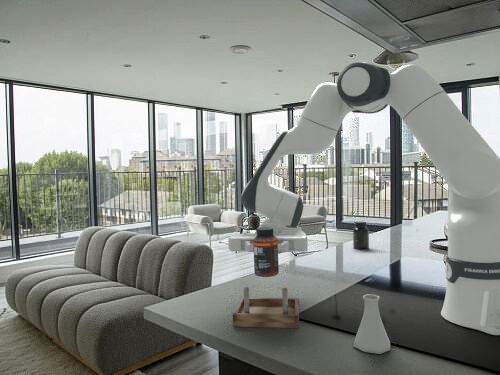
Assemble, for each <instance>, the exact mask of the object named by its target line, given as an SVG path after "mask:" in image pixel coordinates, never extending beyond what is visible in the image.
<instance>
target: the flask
mask: <svg viewBox="0 0 500 375" xmlns="http://www.w3.org/2000/svg"><path fill="white" fill-rule="evenodd" d="M362 300H363V302H364V304H363V305H364V307H363V308H364V309H363V314H362V315H363V316H362V317H361V322H360V324H359V327H358V330H357V332H356V335H355V338H354V342H353V346H352V347H353V348H356V349H358V350H359V351H362V352H364V353H369V354H379V355H381V354H384V353H386V352H389V351H391V341H390V339H389V337H388V333H387V331H386V329H385V326H384V323H383V320H382V318H381V315H380V309H379V301H380V295H377V294H371V293H370V294H369V293H367V294H363V296H362Z"/></svg>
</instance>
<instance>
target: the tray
mask: <svg viewBox="0 0 500 375" xmlns="http://www.w3.org/2000/svg"><path fill="white" fill-rule="evenodd" d="M281 290H282V292H281V293H282V294H281V295H282V296H281V297H250V288H249V287H243V296H242V297H240V299H239V301H238V304H237V306H236V307H235V309H234V311H233V312H232V327H241V328H242V327H245V328H247V327H248V328H250V327H251V328H280V329H281V328H282V329H283V328H284V329H285V328H286V329H287V328H288V329H290V328H291V329H300V328H299V327H300V299H299V298H296V297H295V298H294V297H291V298H290V297H288V296H289V294H288V288H286V287H283V288H281Z"/></svg>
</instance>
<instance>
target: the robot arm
mask: <svg viewBox="0 0 500 375" xmlns="http://www.w3.org/2000/svg"><path fill="white" fill-rule="evenodd" d="M336 83H337V84H336ZM336 83H334V82H323V83H321V84H319V85H318V86H317V87H316V88H315V89H314V90H313V91H312V93H311V95H310V97H309V99H308V100H307V102H306V104H305V105H304V108H303V111H302V113H301V114H300V117H299V119H298V121H297V122H296V124H295V125H294V126H293V127H292V128H290V129H287V130H283V131H282V132H281V133H280V134H279V136H278V137H276V139H275V140H274V142H273V144H272V146H271V148H270V149H269V151H268V152H267V153H266V155H265V157H264V158H263V159H262V162H261V163H260V165H259V166H258V169H257V170H256V171H255V173H254V175H253V176H252V178H251V179H250V180H249V181H248V182H247V184H246V185H245V186H244V188H243V189H242V193H241V195H240V196H241V198H240V201H241V203H242V206H243V207H244V209H245V210H246V211H249V212H251V213H254V214H258V215H260V216H262V217H265V218H266V219H265V220H264V221H263V222H261V224H259V226H258V227H257V228H260V227H272V228H273V235H274V236H275V237H276V238H277V240H278V255H280V254H283V253H293V252H295V253H296V252H298V253H299V252H301V253H302V252H303V253H305V252H307V251H309V249H308V247H309V246H308V245H309V244H308V236H307V234H306V232H305V231H303V230H302V227H300V226H298V225H299V223H300V220H301V218H302V215H303V211H304V202H303V199H302V197H301V196H300V195H299V194H297V193H294V192H292V191H290V190H288V189H284V188H282V187H280V186H277V185H276V184H272V183H271V182H269V181H268V179H269V178H270V175H271V174H272V172H273V171H274V169H275V168H276V166H277V165H278V163H279V162H280V160H281V159H282V158H283V157H286V156H287V155H315V154H320V153H322V152H325V151H326V150H328V149H329V148H330V147H331V145H332V144H333V142H334V141H335V138H336V136H337V135H338V132H339V130H340V128H341V124H342V123H343V121H344V119H345V117H346V116H347V115H348V114H349V113H351V112H352V113H353V114H354V113H356V114H368V115H369V114H376V113H379V112H382V111H383V110H384V109H387V107H388V106H390V107H392V108H393V109H394V110H395V111H396V113H397V114H398V116H399V117H400V118H401V119H402V121H403V122H404V124H405V125H406V127H407V128H408V130H410V132H411V134H412V135H413V136H414V138H415V140H417V142H418V143H419V144H420V146H421V148H422V149H423V151H424V152H425V153H426V155H427V157H428V158H429V160H431V162H432V163H433V166H434V167H435V168H436V170H437V171H438V172H439V174H440V175H441V177H442V179H443V180H444V181H445V183H446V184H447V185H448V187H447V188H448V190H447V191H448V194H447V195H448V197H447V199H448V200H447V255H446V256H445V268H444V270H445V278H446V281H447V282H446V289H445V296H444V301H443V306H442V308H441V311H440V314H441V317H443V318H444V319H445V320H447V321H448V322H451V323H453V324H456V325H458V326H461V327H464V328H465V327H466V328H469V329H473V330H478V331H480V332H484V333H486V334H488V335H493V336H500V157H499V156H498V155H497V154H496V152H495V151H494V150H493V149H492V147H491V146H490V145H489V144H488V143H487V141H486V140H485V139H484V138H483V137H482V135H481V134H480V133H479V131H477V129H476V128H475V127H474V126H473V125H472V124H471V122H470V121H469V120H468V119H467V118H466V116H465V115H464V114H463V113H462V111H461V110H460V109H459V107H458V106H457V105H456V103H455V102H454V101H453V100H452V98H450V96H449V95H448V93H447V92H446V91H445V89H444V88H443V87H442V86H441V84H440V83H438V81H437V80H435V78H434V77H433V76H432V75H431V74H429V73H428V72H427V71H426V70H425V69H423V68H422V67H421V66H419V65H417V64H413V63H412V64H406V65H403V66H401V67H400V68H398V69H396V70H395V71H393V72H392V73H391V72H389V70H388V69H387V68H385V67H381V66H378V65H376V64H373V63H370V62H365V61H355V62H353V63H350V64H348V65H347V66H345V67H344V68H343V69H342V70H341V72H340V73H339V75H338V78H337V81H336ZM256 236H257V229H256V230H255V232H254V233H235V234H233V235H231V236H229V238H228V241H227V242H228V251H229V252H242V253H243V252H245V253H246V252H247V253H254V248H253V240H254V238H255V237H256Z"/></svg>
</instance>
